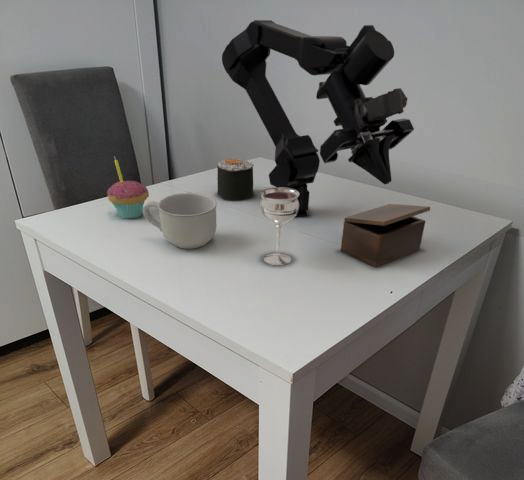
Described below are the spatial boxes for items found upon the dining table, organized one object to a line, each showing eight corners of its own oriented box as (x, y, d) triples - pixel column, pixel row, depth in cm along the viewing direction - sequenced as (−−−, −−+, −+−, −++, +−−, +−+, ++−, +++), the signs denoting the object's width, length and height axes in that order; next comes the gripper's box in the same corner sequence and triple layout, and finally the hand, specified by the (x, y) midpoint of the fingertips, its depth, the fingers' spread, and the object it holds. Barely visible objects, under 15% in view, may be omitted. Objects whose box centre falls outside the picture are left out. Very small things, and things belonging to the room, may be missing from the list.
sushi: (228, 202, 113) (227, 167, 109) (213, 192, 119) (211, 158, 115) (258, 197, 117) (259, 162, 112) (242, 187, 123) (242, 154, 118)
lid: (430, 210, 88) (430, 206, 88) (384, 226, 82) (384, 221, 81) (389, 207, 95) (389, 203, 94) (344, 221, 88) (343, 217, 88)
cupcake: (102, 218, 104) (92, 159, 97) (126, 205, 111) (117, 150, 104) (136, 224, 102) (128, 164, 95) (158, 211, 108) (152, 154, 101)
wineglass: (251, 257, 89) (251, 191, 82) (280, 248, 92) (282, 184, 86) (274, 270, 85) (276, 202, 78) (303, 261, 88) (308, 194, 81)
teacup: (226, 236, 97) (225, 196, 92) (203, 258, 89) (201, 215, 84) (164, 227, 101) (159, 188, 96) (136, 247, 92) (130, 205, 88)
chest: (419, 250, 93) (425, 220, 89) (375, 267, 86) (380, 236, 83) (384, 235, 98) (389, 207, 95) (340, 251, 92) (343, 221, 88)
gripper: (338, 74, 74) (383, 164, 74) (415, 67, 84) (455, 147, 83) (301, 121, 84) (340, 202, 83) (374, 110, 93) (409, 183, 93)
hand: (388, 182), depth 85 cm, fingers closed
